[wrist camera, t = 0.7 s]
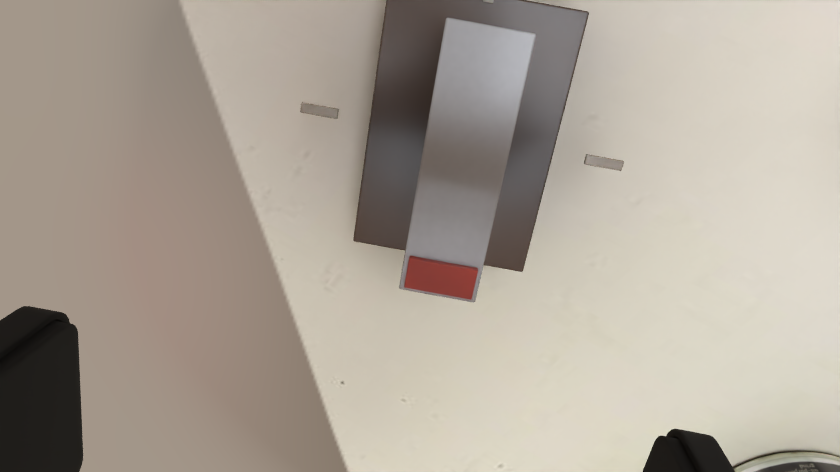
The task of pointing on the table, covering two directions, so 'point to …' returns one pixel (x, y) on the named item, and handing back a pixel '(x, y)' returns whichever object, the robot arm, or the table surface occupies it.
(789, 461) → the coffee can
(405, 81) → the base
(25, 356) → the robot arm
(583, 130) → the table surface
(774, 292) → the table surface
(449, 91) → the gray box
